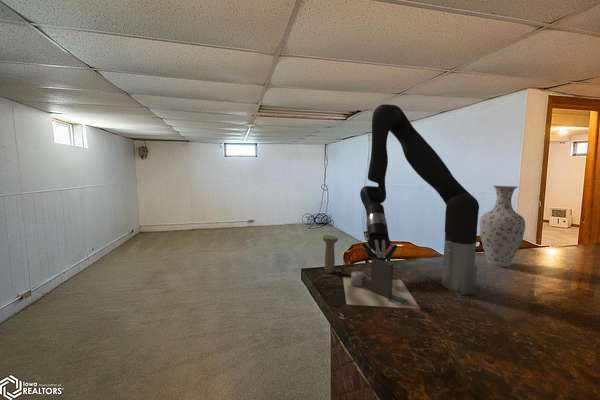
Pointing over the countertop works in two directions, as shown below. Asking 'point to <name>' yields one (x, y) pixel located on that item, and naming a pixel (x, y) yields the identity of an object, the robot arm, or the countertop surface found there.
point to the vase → (501, 229)
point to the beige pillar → (329, 253)
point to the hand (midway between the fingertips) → (382, 269)
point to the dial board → (378, 296)
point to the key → (377, 279)
